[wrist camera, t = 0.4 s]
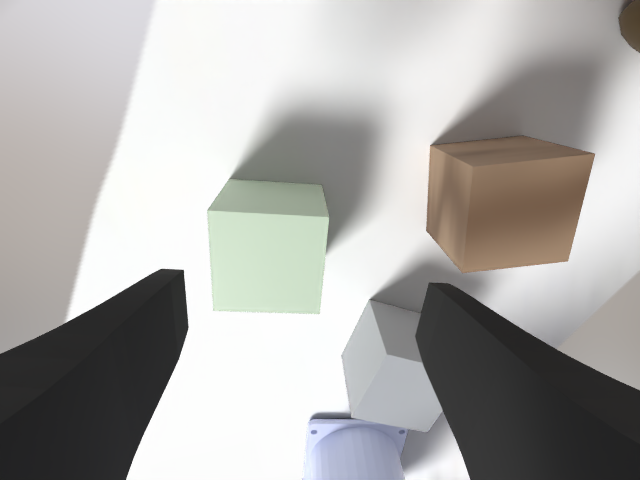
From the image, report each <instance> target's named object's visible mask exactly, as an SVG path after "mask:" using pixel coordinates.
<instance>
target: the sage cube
mask: <svg viewBox="0 0 640 480" xmlns="http://www.w3.org/2000/svg"><path fill="white" fill-rule="evenodd" d="M207 214H208V231H209V247H210V264H211V280H212V297H213V311H234V312H267V313H300V314H320V305H321V295H322V285H323V275H324V265H325V255H326V245H327V235H328V225H329V214H328V210H327V205H326V201H325V197H324V192H323V188H322V185H318V184H303V183H287V182H272V181H256V180H240V179H229V180H228V181H227V183H226V184H225V186H224V187H223V189H222V190H221V191H220V193H219V194H218V196H217V197H216V199H215V200H214V202H213V203H212V204H211V206H210V207H209V209H208V210H207Z"/></svg>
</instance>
